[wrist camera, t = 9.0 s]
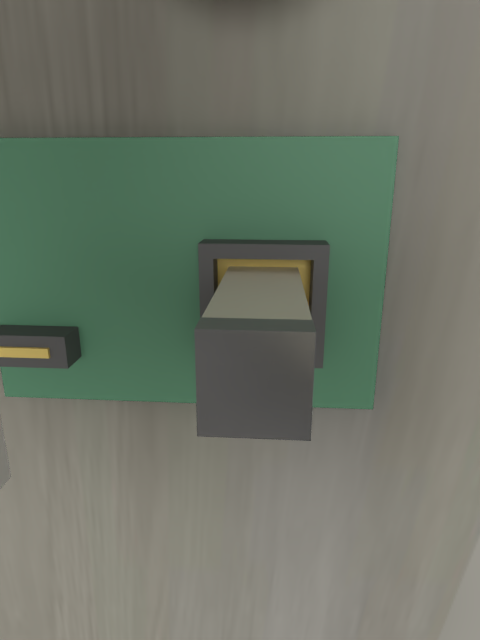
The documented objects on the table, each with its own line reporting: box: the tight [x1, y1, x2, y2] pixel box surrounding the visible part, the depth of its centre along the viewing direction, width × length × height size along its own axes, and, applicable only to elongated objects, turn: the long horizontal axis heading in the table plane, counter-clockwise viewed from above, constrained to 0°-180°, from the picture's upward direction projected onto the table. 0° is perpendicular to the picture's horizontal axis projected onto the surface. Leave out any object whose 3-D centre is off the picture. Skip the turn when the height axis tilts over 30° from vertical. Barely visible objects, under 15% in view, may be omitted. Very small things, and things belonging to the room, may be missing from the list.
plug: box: [194, 266, 316, 441], centre depth 22 cm, size 4×4×12 cm
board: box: [0, 136, 399, 409], centre depth 27 cm, size 16×24×3 cm, turn 90°
